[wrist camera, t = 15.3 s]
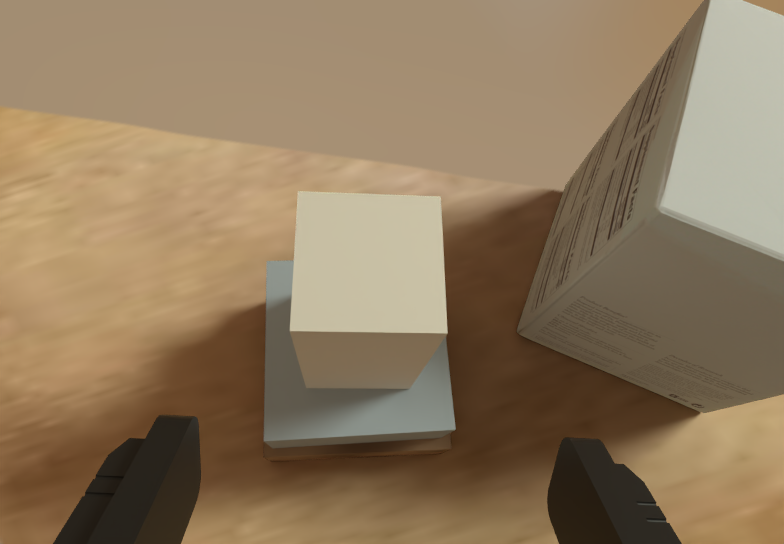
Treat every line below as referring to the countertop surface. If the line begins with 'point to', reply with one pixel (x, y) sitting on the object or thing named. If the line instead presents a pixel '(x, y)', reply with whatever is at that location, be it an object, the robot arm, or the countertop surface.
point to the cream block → (367, 288)
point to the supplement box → (680, 224)
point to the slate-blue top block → (342, 391)
